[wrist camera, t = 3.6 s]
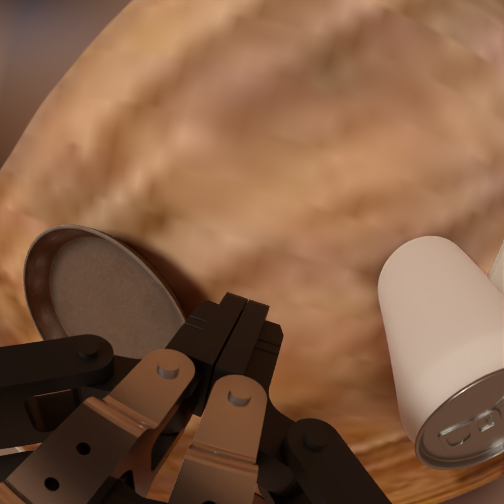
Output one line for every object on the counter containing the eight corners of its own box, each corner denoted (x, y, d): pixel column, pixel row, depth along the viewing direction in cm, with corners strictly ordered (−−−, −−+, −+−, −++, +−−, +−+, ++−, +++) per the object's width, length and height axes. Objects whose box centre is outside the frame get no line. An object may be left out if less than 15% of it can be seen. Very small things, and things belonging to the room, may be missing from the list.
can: (480, 292, 18) (560, 420, 7) (403, 340, 20) (430, 490, 9) (443, 213, 17) (554, 317, 6) (357, 270, 19) (373, 424, 8)
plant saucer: (238, 391, 26) (228, 417, 23) (95, 387, 31) (81, 404, 28) (157, 183, 21) (132, 192, 18) (22, 241, 26) (0, 252, 23)
